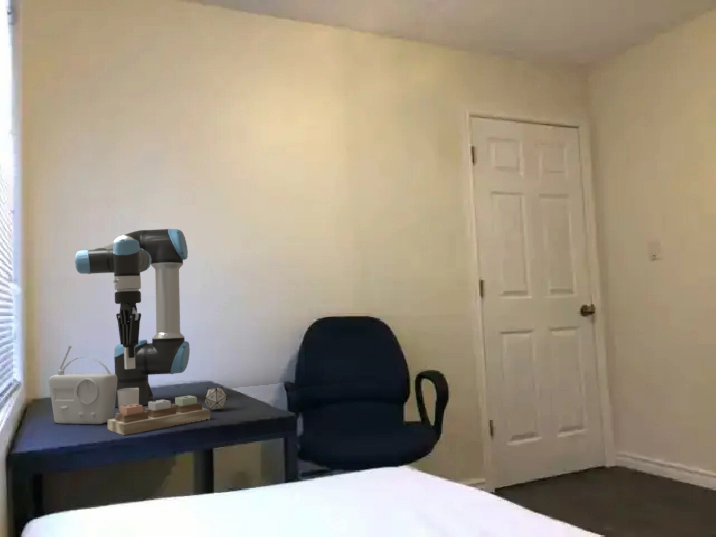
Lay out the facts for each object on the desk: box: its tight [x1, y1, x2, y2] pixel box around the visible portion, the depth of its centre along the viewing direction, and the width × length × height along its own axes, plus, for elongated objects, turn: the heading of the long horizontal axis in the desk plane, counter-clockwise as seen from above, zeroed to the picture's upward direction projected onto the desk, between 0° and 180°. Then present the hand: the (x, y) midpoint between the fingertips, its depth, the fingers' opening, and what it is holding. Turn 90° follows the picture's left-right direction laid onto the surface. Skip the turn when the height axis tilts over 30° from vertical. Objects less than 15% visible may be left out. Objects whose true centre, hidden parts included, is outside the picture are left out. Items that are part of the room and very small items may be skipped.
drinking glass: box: [117, 388, 139, 413], centre depth 211 cm, size 7×7×10 cm
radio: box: [48, 344, 117, 425], centre depth 211 cm, size 22×8×25 cm, turn 75°
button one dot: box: [174, 395, 198, 406], centre depth 209 cm, size 5×5×3 cm
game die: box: [201, 385, 229, 411], centre depth 223 cm, size 9×8×10 cm
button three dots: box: [120, 404, 144, 415], centre depth 197 cm, size 5×5×3 cm
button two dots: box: [147, 399, 172, 410], centre depth 203 cm, size 5×5×3 cm
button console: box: [106, 401, 211, 436], centre depth 203 cm, size 12×28×5 cm, turn 132°
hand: (130, 368), depth 197 cm, fingers closed
